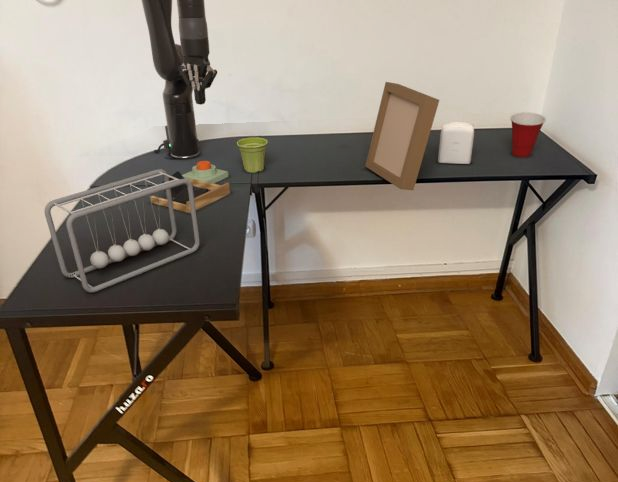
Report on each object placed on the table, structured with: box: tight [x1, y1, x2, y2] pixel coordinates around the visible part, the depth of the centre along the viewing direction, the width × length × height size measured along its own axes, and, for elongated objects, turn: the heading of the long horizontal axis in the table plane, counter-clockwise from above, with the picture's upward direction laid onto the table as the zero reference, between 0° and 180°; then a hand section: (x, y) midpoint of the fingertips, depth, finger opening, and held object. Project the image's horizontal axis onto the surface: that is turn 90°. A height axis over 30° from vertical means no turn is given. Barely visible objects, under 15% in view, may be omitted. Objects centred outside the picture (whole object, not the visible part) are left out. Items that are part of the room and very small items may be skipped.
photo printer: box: [437, 121, 475, 165], centre depth 187 cm, size 10×4×12 cm, turn 78°
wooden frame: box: [150, 179, 231, 214], centre depth 169 cm, size 14×17×3 cm
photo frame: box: [364, 81, 440, 191], centre depth 174 cm, size 15×22×25 cm
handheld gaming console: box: [160, 170, 209, 204], centre depth 169 cm, size 12×7×10 cm
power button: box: [196, 160, 211, 170], centre depth 180 cm, size 4×4×2 cm
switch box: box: [181, 163, 229, 184], centre depth 181 cm, size 10×10×4 cm
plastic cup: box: [509, 111, 547, 158], centre depth 192 cm, size 11×11×12 cm
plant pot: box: [236, 136, 269, 174], centre depth 186 cm, size 9×9×9 cm
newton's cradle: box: [44, 168, 201, 294], centre depth 132 cm, size 30×10×18 cm, turn 135°
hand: (200, 103), depth 170 cm, fingers closed
